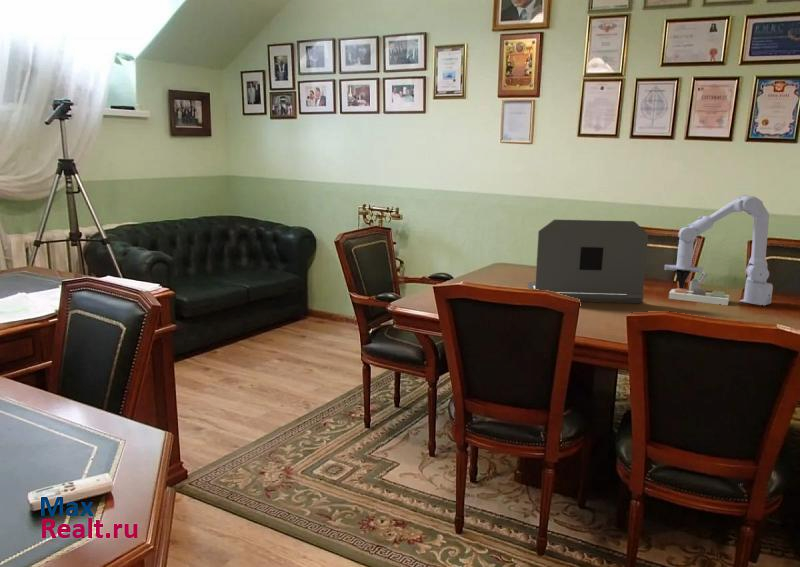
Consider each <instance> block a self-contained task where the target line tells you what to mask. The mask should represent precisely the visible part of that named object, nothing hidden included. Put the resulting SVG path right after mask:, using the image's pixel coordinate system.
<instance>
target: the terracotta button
mask: <svg viewBox="0 0 800 567" xmlns="http://www.w3.org/2000/svg"><path fill="white" fill-rule="evenodd" d="M674 289H675V292H676V293H685V294H687V291H688V288H683V289H682V288H679V287H678V288H674Z"/></svg>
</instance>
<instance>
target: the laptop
mask: <svg viewBox="0 0 800 567" xmlns="http://www.w3.org/2000/svg"><path fill="white" fill-rule="evenodd" d="M537 234H538V236H537V249H536V250H537V251H536V268H535V270H536V271H535V281H530V282H529V281H528V282H526V284H527V286H528V287H529V289H530V290H531V289H539V290H549V291H553V292H557V293H560V294H563V295H567V296H570V297H574V298H578V299H580V301H581V302H582V303H583V301H589V302H588V303H609V302H617V303H618V304H639V303H640V302H642V301H643V299H644V294H643V293H644V285H645V284H644V282H645V275H646V274H645V272H646V264H647V252H648V243H649V241H648V240H649V233H648V232H647V231H646V230H644V228H642V226H640V225H639V224H638V223H637V222H636V221H634V220H602V219H601V220H595V219H594V220H591V219H552V220H551V221H550V222H549V223H547V224H546V225H545V226H543V227H542V228H540V229H539V230H538V232H537Z"/></svg>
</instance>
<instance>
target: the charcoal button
mask: <svg viewBox="0 0 800 567" xmlns="http://www.w3.org/2000/svg"><path fill="white" fill-rule="evenodd" d="M706 292H707V291H706V289H705V288H704V289H703V288H699V289H694V291H693V294H694V295H703V296H705V293H706Z"/></svg>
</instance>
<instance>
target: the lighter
mask: <svg viewBox="0 0 800 567" xmlns="http://www.w3.org/2000/svg"><path fill="white" fill-rule="evenodd" d="M699 276H700V277H699V278H692V280H690V281H689V283H688V284H689V286H688V291H694V289H701V287H700V286H701V283H703V282H704V281H705V279H706V278H707V276H708V273H706V272H703V273H700V275H699Z"/></svg>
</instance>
